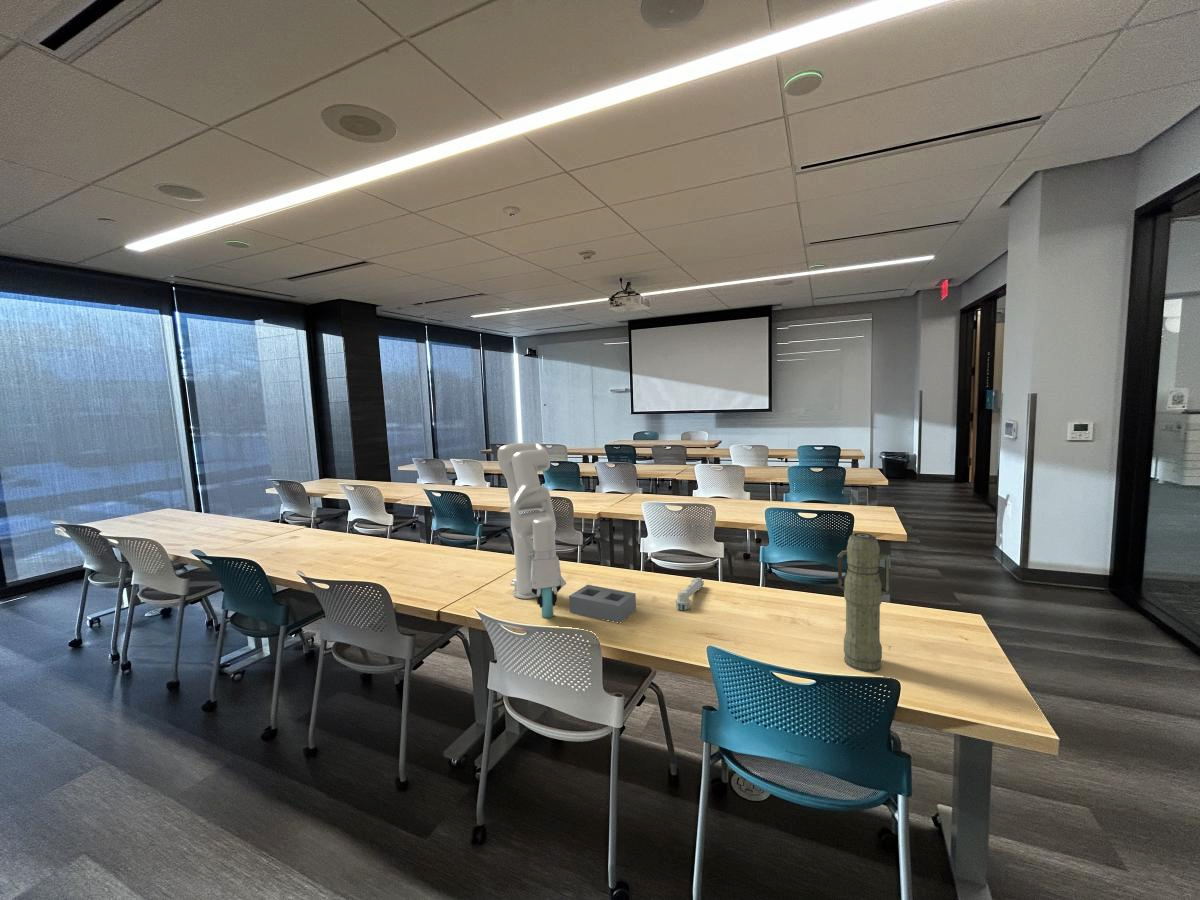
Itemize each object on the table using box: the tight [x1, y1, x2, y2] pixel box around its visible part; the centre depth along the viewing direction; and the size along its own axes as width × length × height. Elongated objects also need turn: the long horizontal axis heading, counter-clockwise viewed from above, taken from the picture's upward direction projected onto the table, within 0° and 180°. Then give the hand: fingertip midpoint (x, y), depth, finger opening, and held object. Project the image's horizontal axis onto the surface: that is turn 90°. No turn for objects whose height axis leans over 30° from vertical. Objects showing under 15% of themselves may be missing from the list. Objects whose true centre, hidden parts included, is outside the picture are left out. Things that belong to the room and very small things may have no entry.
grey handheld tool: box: [674, 577, 705, 611], centre depth 177 cm, size 5×7×25 cm
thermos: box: [837, 532, 890, 673], centre depth 128 cm, size 9×12×35 cm
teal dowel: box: [541, 587, 554, 619], centre depth 166 cm, size 4×4×12 cm
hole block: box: [568, 584, 637, 624], centre depth 169 cm, size 20×12×6 cm, turn 59°
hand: (547, 604), depth 167 cm, fingers closed on teal dowel, 4 cm apart
